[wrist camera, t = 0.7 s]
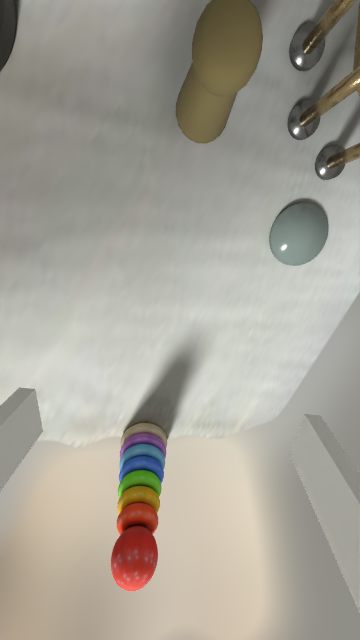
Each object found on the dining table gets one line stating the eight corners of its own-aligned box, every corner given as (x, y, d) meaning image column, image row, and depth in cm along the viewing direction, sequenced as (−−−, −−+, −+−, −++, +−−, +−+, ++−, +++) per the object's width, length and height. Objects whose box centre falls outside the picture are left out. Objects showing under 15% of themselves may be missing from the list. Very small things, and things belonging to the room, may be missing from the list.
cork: (180, 69, 25) (199, -50, 14) (234, 85, 26) (287, -17, 15) (171, 136, 27) (183, 73, 16) (222, 148, 28) (262, 96, 17)
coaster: (257, 236, 31) (259, 236, 31) (304, 189, 30) (306, 188, 30) (291, 276, 34) (294, 277, 33) (335, 234, 32) (339, 234, 32)
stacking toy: (164, 417, 40) (173, 558, 22) (168, 451, 43) (178, 601, 25) (118, 423, 39) (89, 573, 22) (125, 458, 42) (104, 615, 25)
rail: (255, 81, 26) (304, 5, 17) (309, 17, 24) (390, -99, 16) (324, 186, 30) (391, 166, 22) (373, 137, 29) (463, 96, 20)
